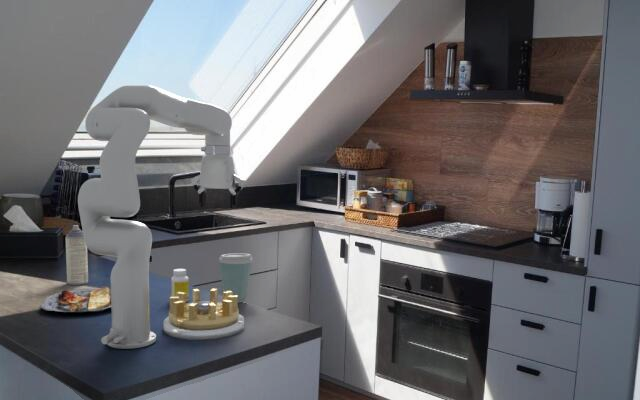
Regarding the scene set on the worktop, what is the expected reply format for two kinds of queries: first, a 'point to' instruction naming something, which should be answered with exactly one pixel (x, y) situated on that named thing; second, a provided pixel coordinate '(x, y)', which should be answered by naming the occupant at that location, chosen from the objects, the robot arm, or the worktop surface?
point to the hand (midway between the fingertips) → (218, 206)
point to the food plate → (79, 300)
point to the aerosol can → (76, 257)
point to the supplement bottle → (180, 283)
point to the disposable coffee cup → (236, 273)
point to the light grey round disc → (203, 331)
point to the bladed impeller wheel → (203, 311)
